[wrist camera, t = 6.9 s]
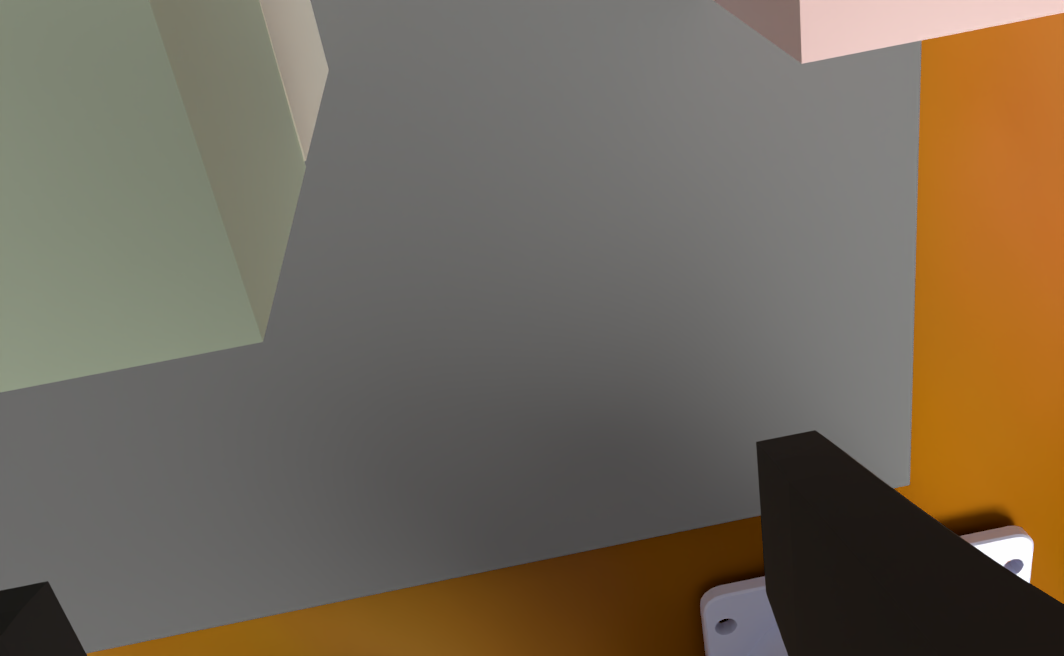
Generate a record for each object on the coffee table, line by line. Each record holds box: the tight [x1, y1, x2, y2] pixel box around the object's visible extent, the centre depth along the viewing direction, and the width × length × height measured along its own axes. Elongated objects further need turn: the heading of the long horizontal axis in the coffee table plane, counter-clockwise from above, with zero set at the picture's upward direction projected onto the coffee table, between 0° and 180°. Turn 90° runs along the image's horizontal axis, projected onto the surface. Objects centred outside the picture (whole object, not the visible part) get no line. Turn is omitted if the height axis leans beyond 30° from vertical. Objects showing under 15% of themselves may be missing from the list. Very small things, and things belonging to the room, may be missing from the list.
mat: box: [0, 0, 921, 653], centre depth 18 cm, size 20×22×1 cm
